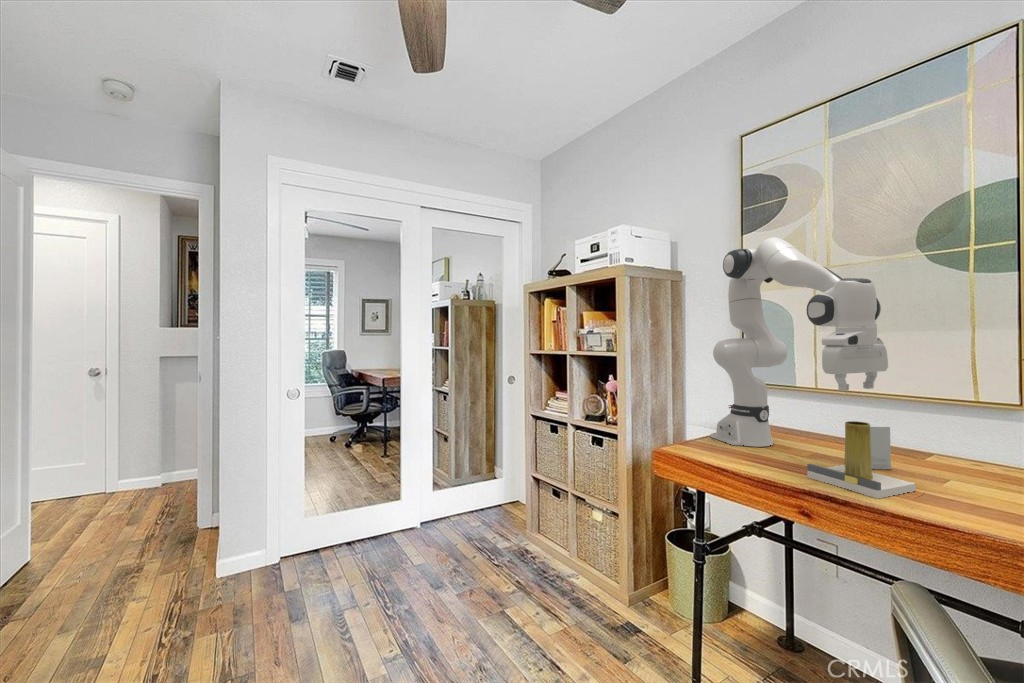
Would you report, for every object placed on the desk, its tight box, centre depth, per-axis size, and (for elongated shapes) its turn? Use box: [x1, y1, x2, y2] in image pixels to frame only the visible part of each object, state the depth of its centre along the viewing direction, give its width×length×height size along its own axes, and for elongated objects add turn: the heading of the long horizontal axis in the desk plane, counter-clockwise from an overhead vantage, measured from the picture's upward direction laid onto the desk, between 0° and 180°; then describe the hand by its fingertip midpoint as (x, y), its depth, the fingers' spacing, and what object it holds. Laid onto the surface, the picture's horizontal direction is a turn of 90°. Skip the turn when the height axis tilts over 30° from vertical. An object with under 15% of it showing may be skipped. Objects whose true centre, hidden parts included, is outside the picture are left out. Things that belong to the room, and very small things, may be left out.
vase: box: [844, 420, 873, 480], centre depth 119 cm, size 6×6×14 cm
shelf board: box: [806, 463, 917, 500], centre depth 119 cm, size 18×14×4 cm
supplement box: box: [868, 422, 892, 470], centre depth 135 cm, size 7×7×13 cm
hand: (856, 389), depth 120 cm, fingers open, 8 cm apart
